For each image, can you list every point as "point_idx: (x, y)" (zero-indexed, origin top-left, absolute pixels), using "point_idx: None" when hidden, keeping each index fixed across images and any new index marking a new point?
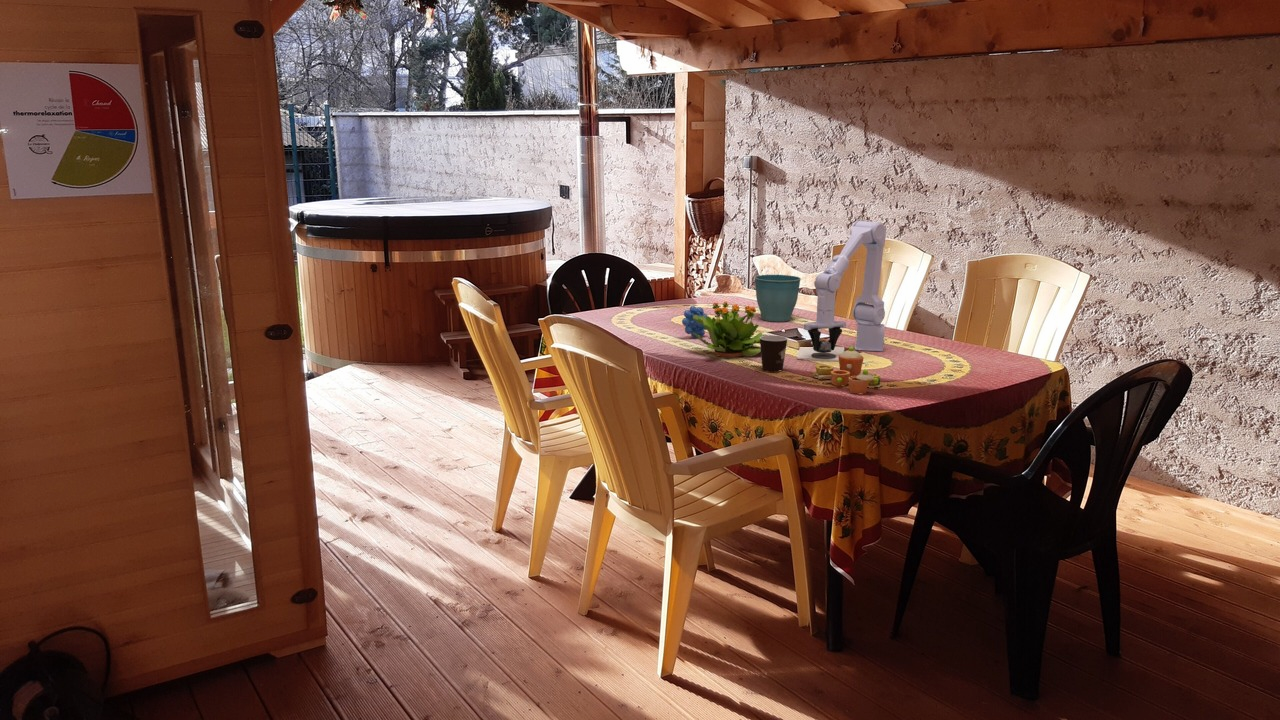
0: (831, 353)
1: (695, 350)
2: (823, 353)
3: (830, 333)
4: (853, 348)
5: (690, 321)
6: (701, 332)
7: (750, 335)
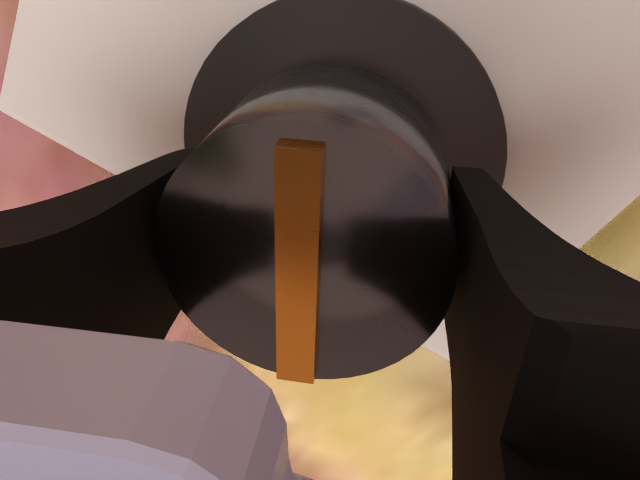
0: (556, 42)
1: None
2: (391, 77)
3: (486, 341)
4: None
5: None
6: None
7: None
